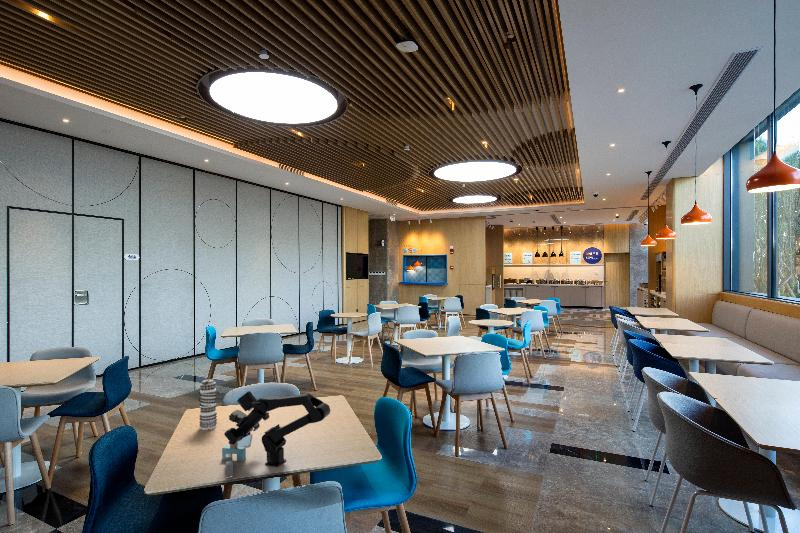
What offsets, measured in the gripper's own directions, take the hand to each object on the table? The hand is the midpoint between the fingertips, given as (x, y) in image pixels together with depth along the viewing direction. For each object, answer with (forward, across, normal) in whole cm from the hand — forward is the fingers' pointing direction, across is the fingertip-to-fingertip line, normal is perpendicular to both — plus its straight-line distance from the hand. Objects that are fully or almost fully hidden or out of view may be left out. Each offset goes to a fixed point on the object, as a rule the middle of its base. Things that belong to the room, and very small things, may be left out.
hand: (231, 442), depth 187 cm
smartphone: (+10, -18, +1) cm, 21 cm away
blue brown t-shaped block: (+4, 0, +6) cm, 7 cm away
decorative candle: (+31, -33, -21) cm, 50 cm away
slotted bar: (0, +11, +10) cm, 15 cm away
